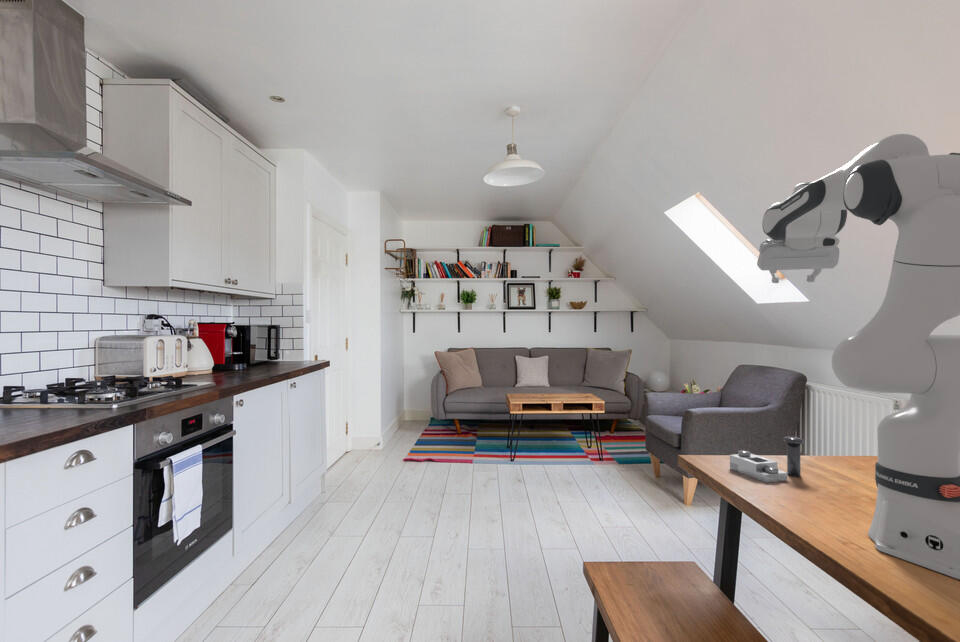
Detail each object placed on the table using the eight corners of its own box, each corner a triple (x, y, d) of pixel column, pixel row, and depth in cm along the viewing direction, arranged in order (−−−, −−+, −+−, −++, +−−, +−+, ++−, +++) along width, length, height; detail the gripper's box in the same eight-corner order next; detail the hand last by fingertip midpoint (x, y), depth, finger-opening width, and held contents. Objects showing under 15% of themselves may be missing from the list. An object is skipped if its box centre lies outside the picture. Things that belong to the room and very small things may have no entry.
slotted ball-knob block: (787, 480, 121) (787, 461, 121) (765, 482, 119) (765, 463, 119) (750, 467, 133) (750, 449, 133) (730, 469, 131) (729, 451, 131)
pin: (807, 477, 124) (807, 439, 124) (794, 478, 123) (794, 440, 123) (793, 472, 128) (792, 436, 128) (780, 473, 127) (779, 437, 127)
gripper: (764, 243, 134) (757, 287, 140) (846, 239, 129) (835, 285, 135) (757, 236, 139) (751, 279, 145) (836, 233, 134) (826, 277, 140)
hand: (792, 282), depth 140 cm, fingers open, 8 cm apart
